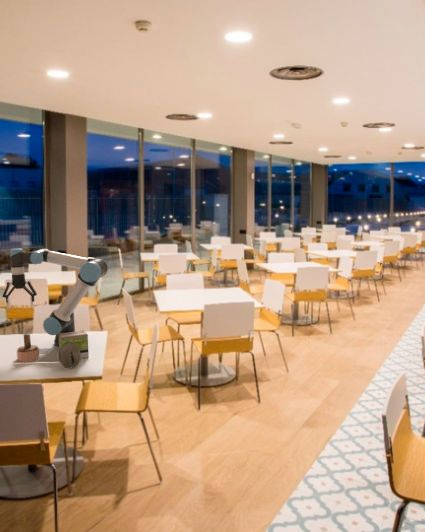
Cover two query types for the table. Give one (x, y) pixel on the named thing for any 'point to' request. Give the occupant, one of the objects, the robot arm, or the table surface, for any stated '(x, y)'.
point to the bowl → (28, 355)
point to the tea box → (76, 341)
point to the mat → (44, 351)
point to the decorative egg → (69, 354)
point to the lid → (27, 345)
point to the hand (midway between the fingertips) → (20, 307)
